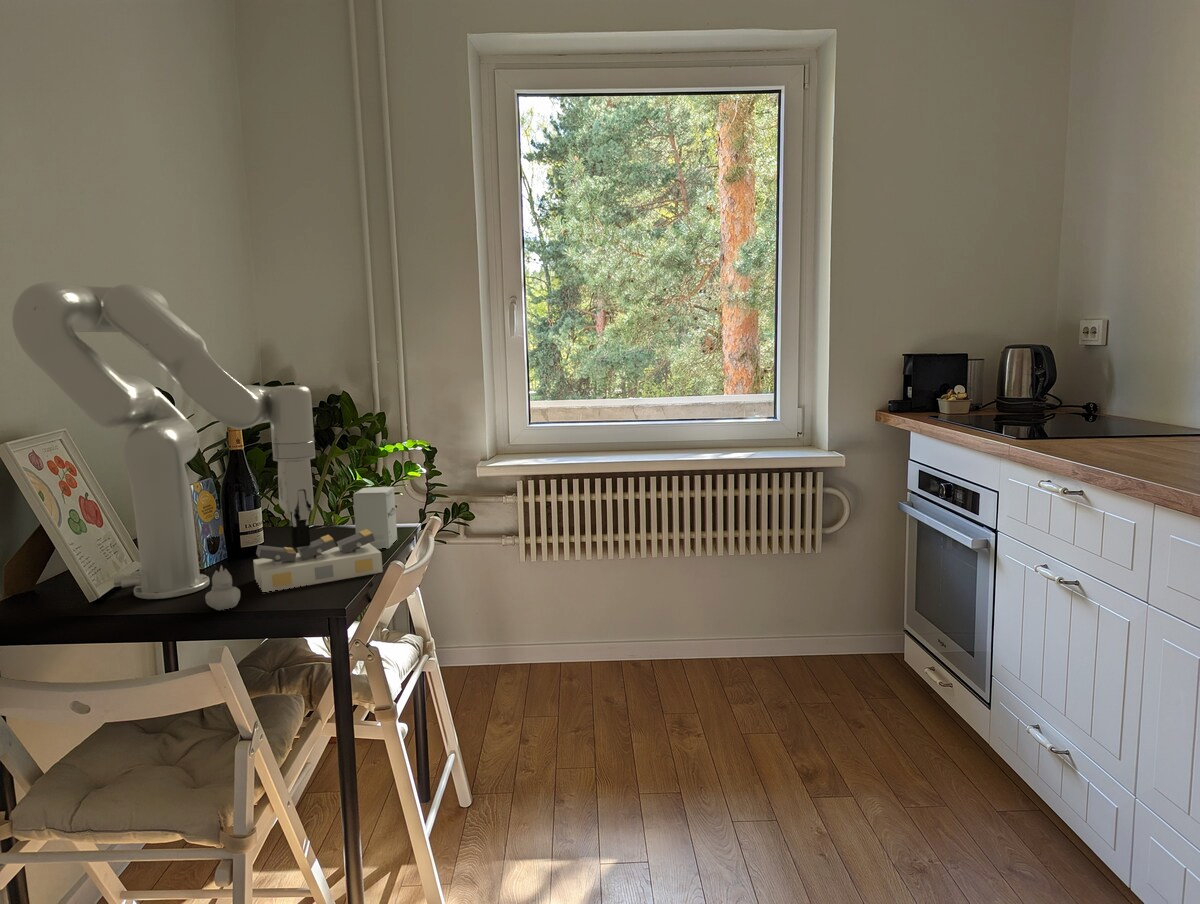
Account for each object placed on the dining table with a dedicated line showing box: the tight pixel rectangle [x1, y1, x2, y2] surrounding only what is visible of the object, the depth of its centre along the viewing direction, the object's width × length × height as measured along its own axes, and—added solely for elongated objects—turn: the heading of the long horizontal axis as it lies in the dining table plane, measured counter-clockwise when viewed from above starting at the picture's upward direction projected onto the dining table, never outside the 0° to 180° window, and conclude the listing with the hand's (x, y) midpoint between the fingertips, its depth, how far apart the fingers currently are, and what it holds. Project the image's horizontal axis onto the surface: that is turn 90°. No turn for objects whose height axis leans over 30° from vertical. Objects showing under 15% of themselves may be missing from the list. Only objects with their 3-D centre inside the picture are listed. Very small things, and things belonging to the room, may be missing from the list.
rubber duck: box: [204, 564, 241, 611], centre depth 139 cm, size 5×7×8 cm
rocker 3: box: [336, 529, 375, 553], centre depth 160 cm, size 6×5×2 cm
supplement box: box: [352, 486, 398, 550], centre depth 179 cm, size 7×7×13 cm
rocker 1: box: [255, 544, 298, 562], centre depth 153 cm, size 6×5×2 cm
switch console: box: [252, 543, 384, 593], centre depth 157 cm, size 22×10×5 cm, turn 120°
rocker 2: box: [296, 534, 337, 560], centre depth 157 cm, size 6×5×2 cm
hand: (301, 545), depth 155 cm, fingers closed
